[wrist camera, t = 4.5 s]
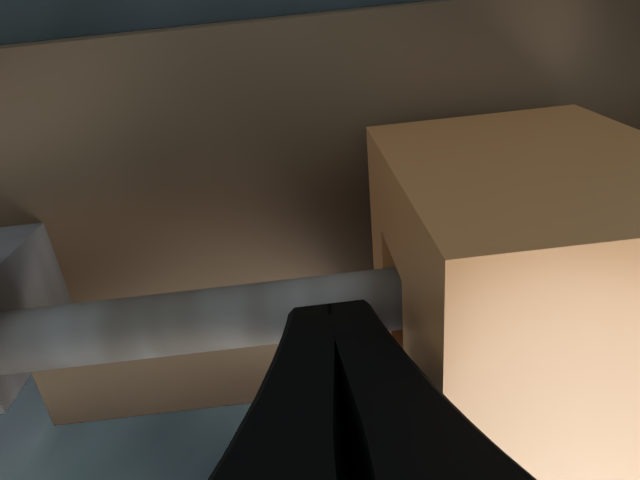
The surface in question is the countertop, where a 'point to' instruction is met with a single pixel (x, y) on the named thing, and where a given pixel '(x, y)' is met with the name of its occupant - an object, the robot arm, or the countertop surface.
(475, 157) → the sleeve
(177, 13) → the countertop surface
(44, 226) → the rail stand
